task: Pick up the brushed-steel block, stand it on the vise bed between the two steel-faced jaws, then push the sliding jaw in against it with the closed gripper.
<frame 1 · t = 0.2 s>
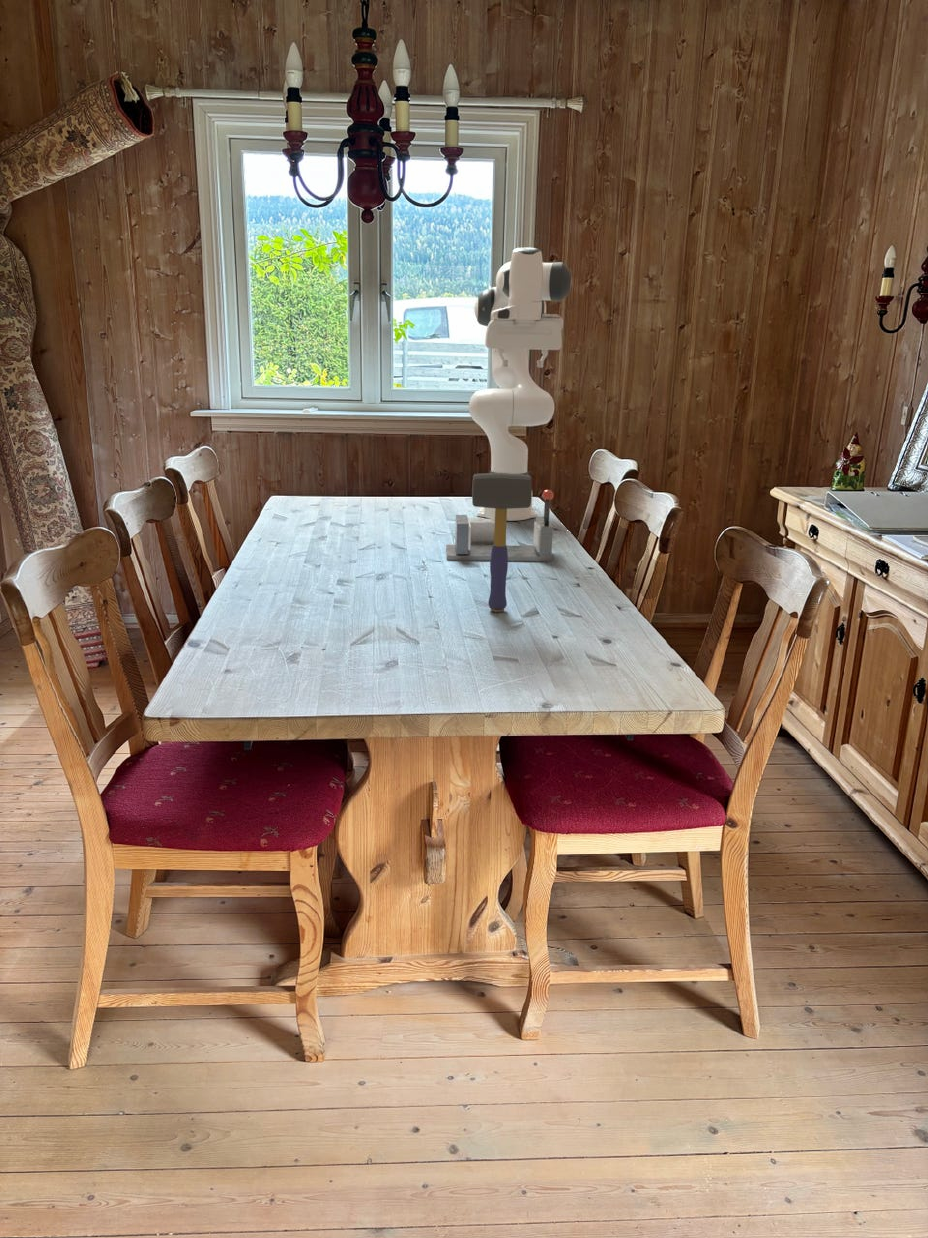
hand: (522, 366, 262), 47 cm above the table, tool pointing down, fingers open, 8 cm apart
jaw: (462, 534, 257), point 5 cm above the table, slide at 0.0 cm
block: (482, 545, 270), on the table
vise: (497, 555, 259), on the table
rubber mallet: (497, 611, 213), on the table
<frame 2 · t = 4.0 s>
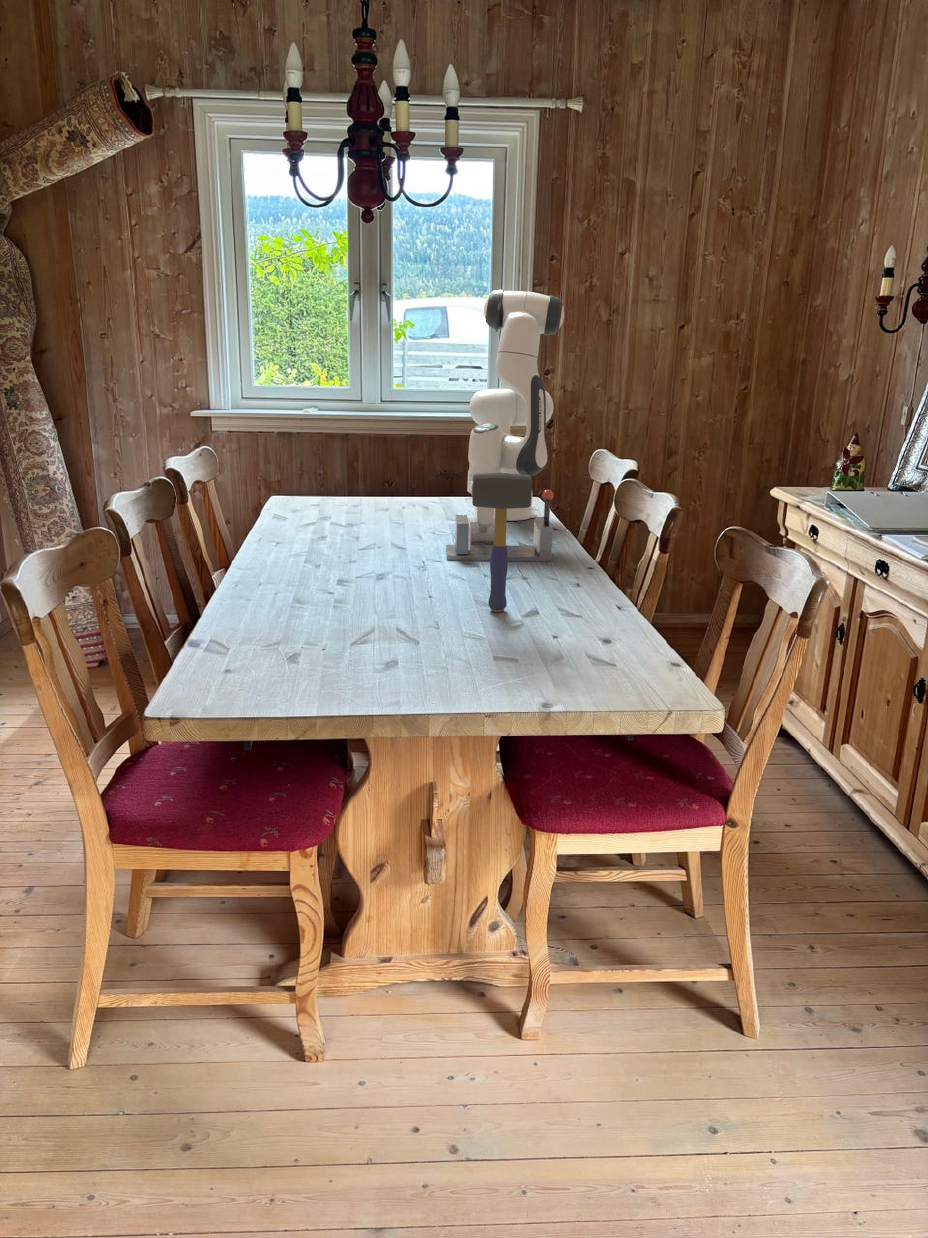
hand: (482, 535, 269), 3 cm above the table, tool pointing down, fingers closed on block, 5 cm apart
block: (481, 545, 269), on the table, touching gripper
everything else where it was.
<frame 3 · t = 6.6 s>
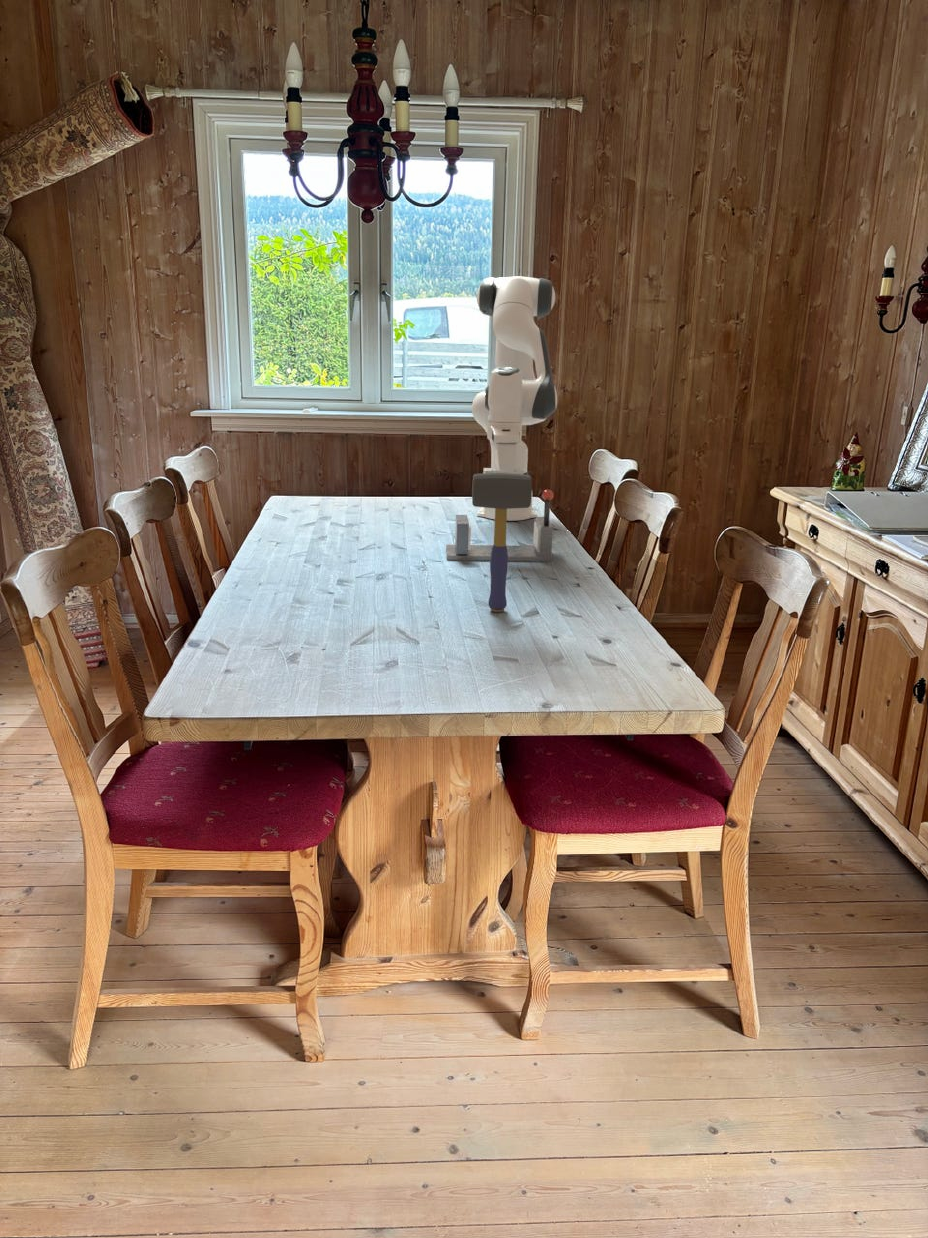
hand: (503, 486, 255), 18 cm above the table, tool pointing down, fingers closed on block, 5 cm apart
block: (502, 496, 256), point 15 cm above the table, touching gripper
everything else where it was.
when the fingers open (5 cm above the table, at t = 9.5 s): block drops 1 cm, resting on vise.
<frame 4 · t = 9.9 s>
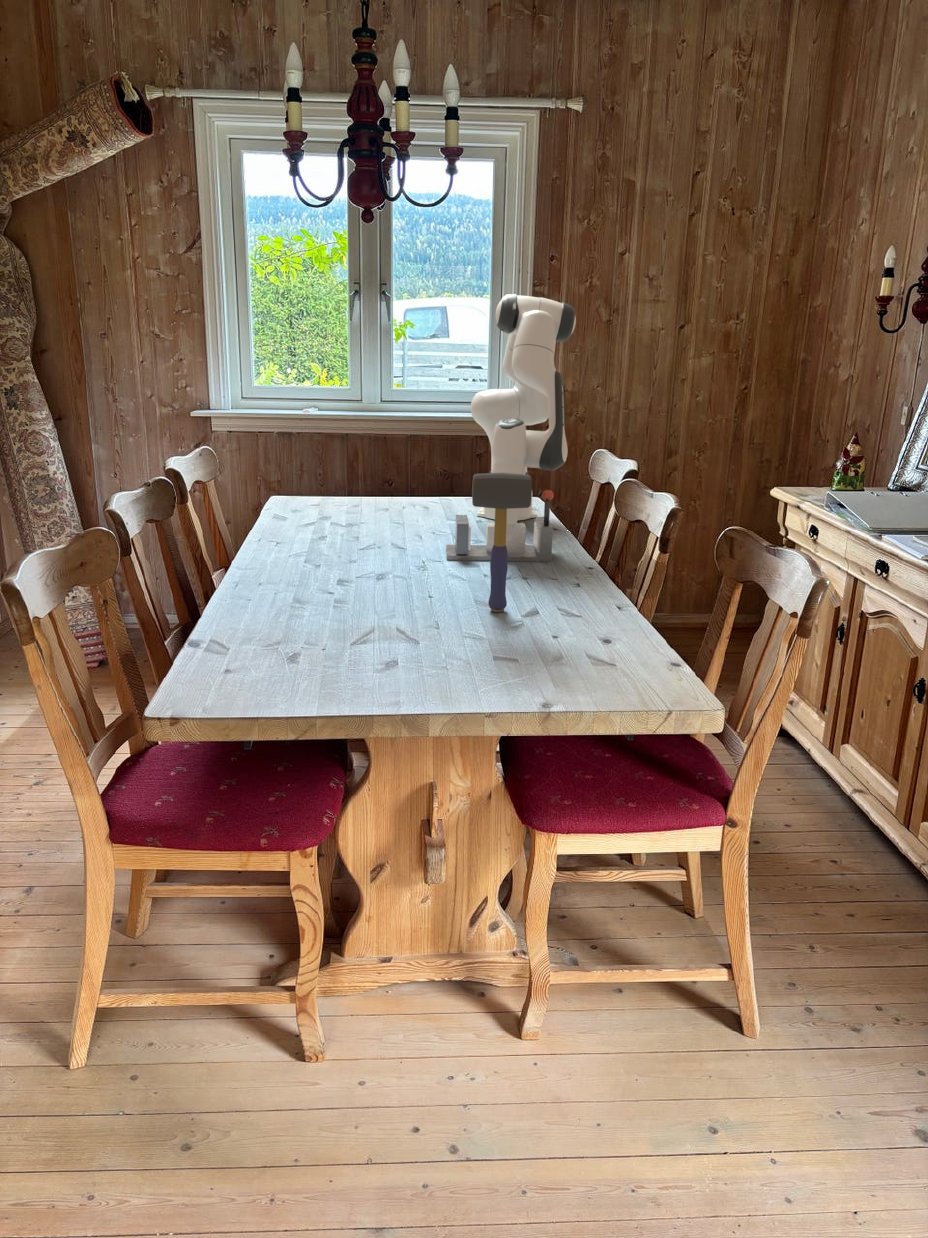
hand: (505, 535, 258), 5 cm above the table, tool pointing down, fingers open, 8 cm apart
block: (505, 550, 259), point 1 cm above the table, touching vise
everything else where it was.
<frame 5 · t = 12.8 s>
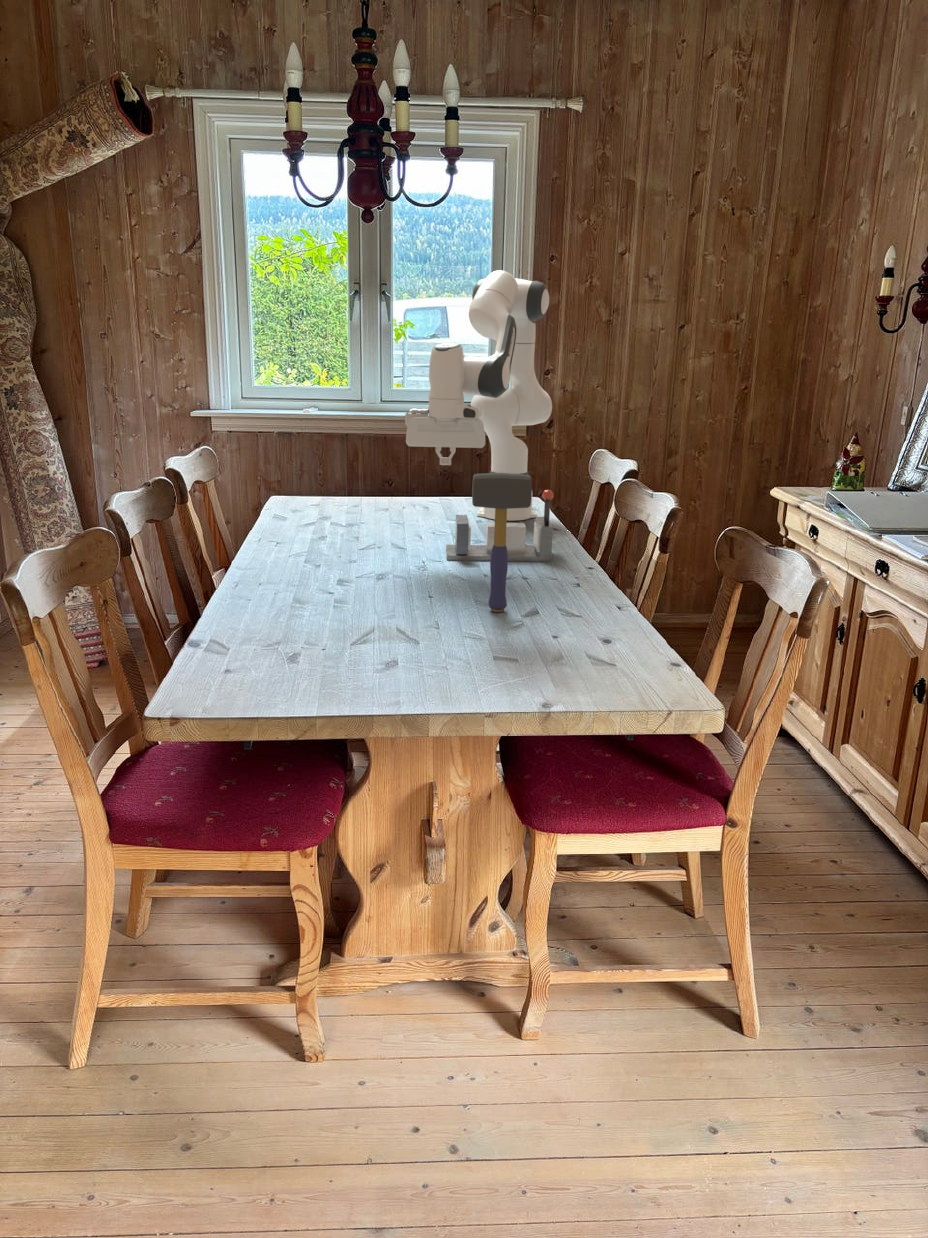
hand: (445, 464, 251), 24 cm above the table, tool pointing down, fingers closed
nothing on the table moved.
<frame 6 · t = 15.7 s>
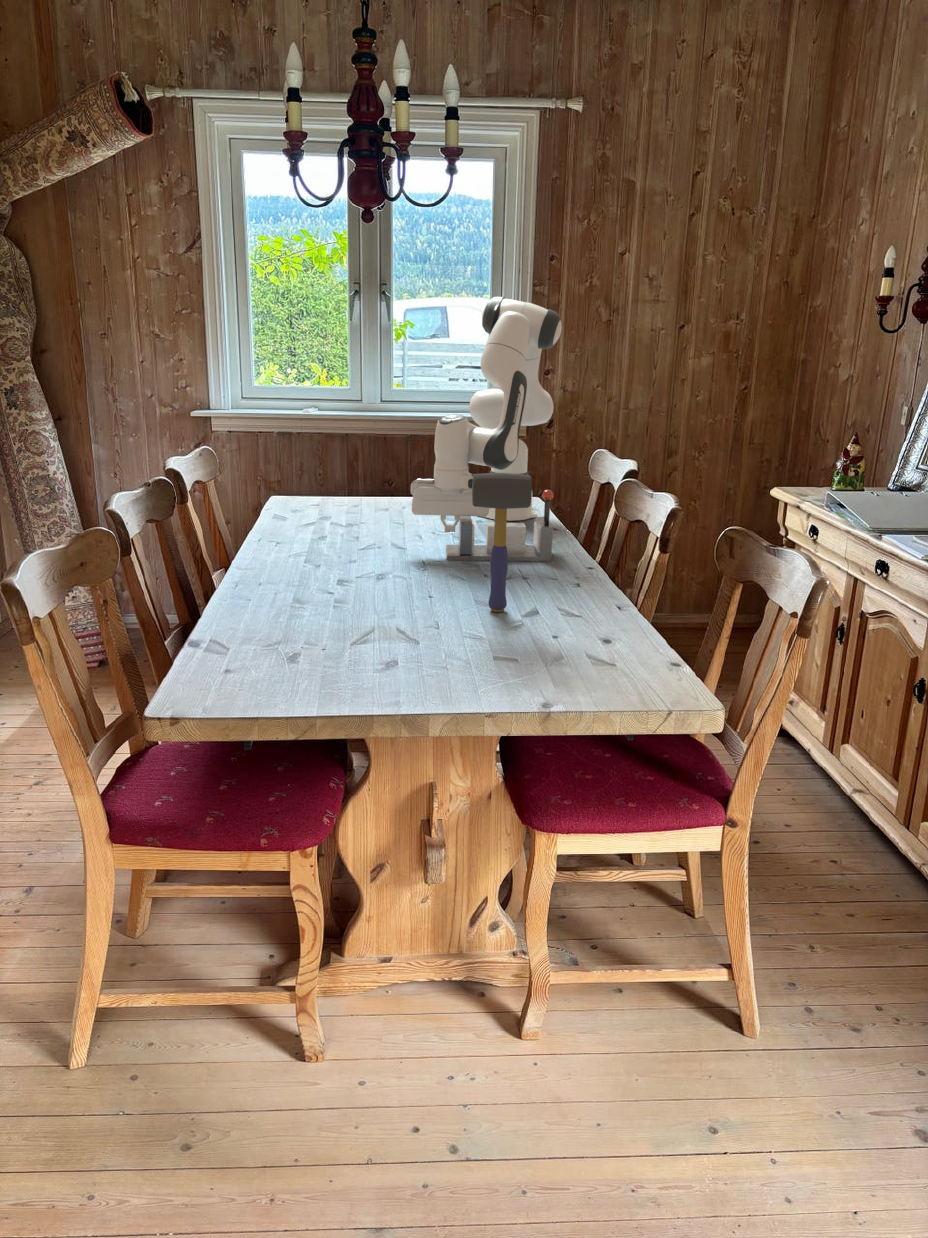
hand: (449, 531, 257), 6 cm above the table, tool pointing down, fingers closed
jaw: (466, 534, 257), point 5 cm above the table, slide at 1.0 cm, touching gripper
everything else where it was.
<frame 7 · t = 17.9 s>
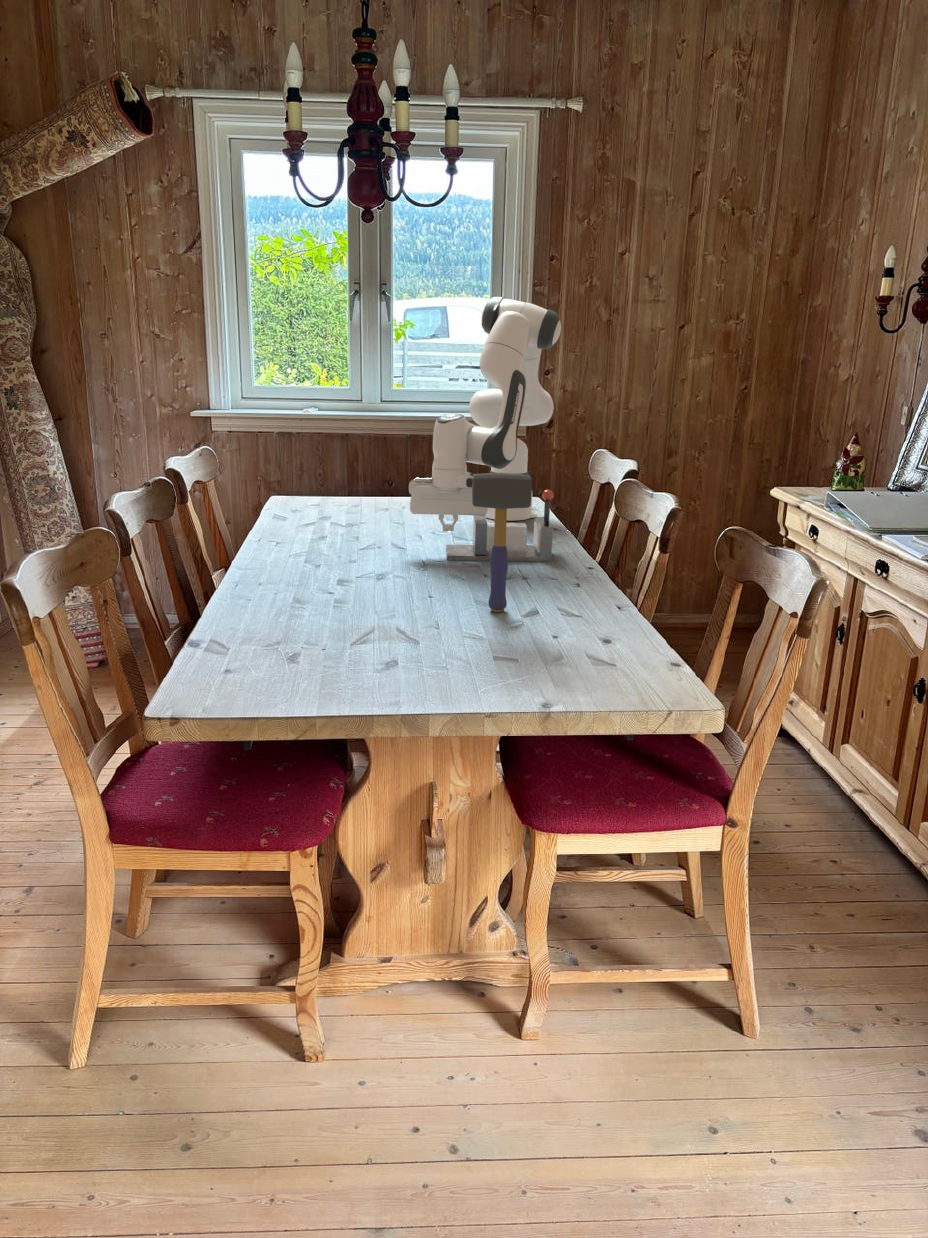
hand: (448, 531, 257), 6 cm above the table, tool pointing down, fingers closed
jaw: (481, 534, 257), point 5 cm above the table, slide at 4.8 cm, touching block
block: (506, 550, 259), point 1 cm above the table, touching jaw, vise
everything else where it was.
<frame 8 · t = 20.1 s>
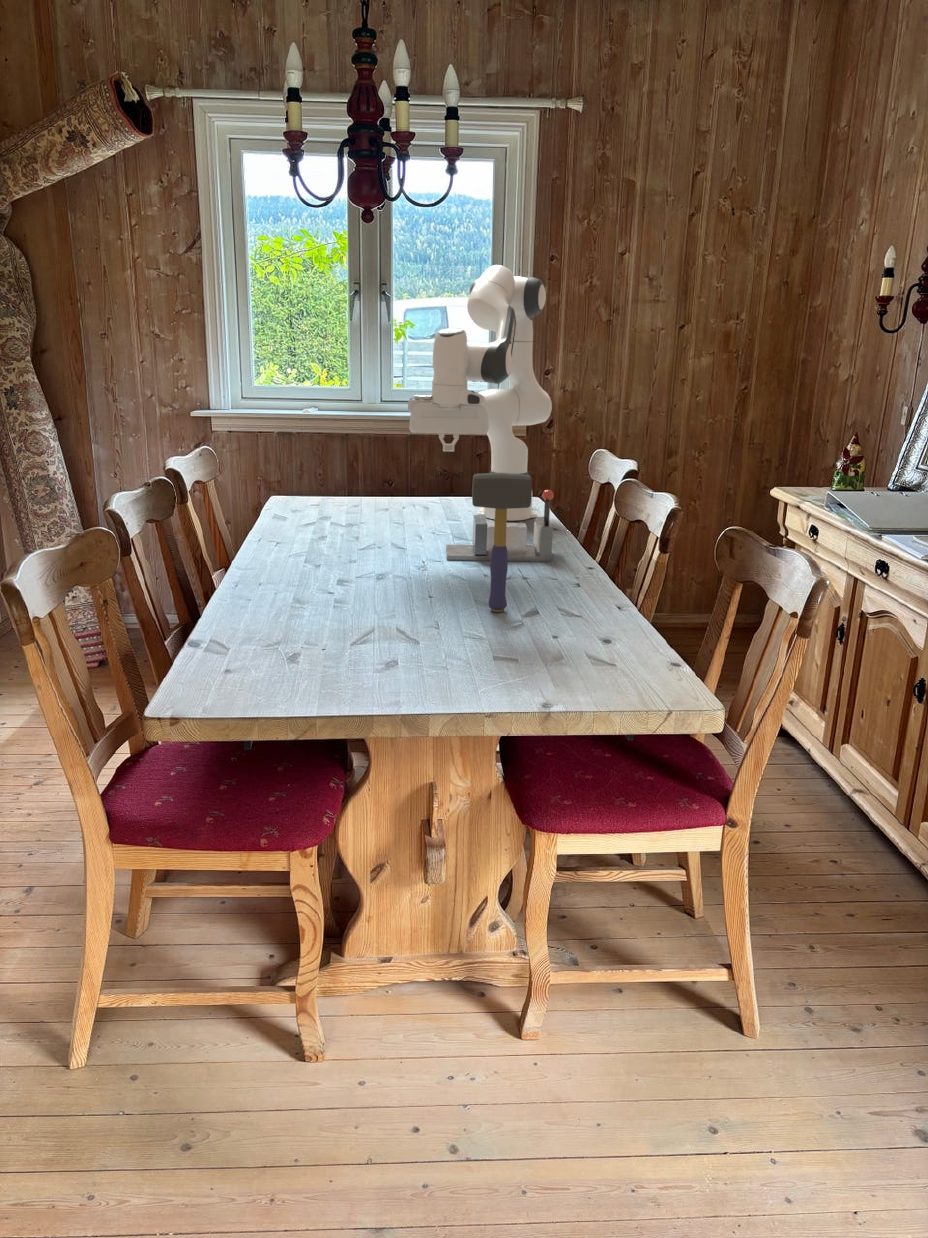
hand: (448, 451, 250), 27 cm above the table, tool pointing down, fingers closed
nothing on the table moved.
at the end: block inside the target area (0.5 cm from its centre), point 1.2 cm above the table; block tilted 0°; jaw slide at 4.8 cm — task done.
